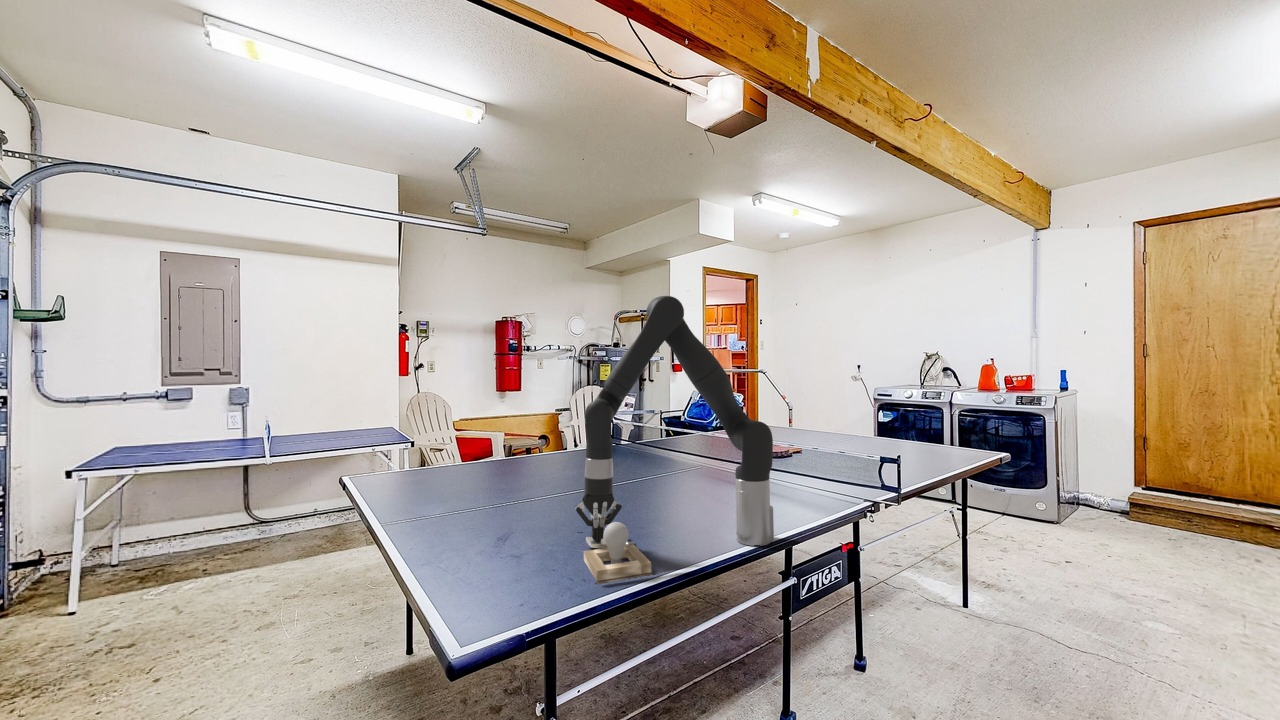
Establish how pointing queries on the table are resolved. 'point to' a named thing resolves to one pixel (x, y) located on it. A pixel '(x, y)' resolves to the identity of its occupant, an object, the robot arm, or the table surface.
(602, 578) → the socket
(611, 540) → the lightbulb
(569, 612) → the table surface
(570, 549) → the table surface
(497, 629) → the table surface
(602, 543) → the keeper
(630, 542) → the keeper bracket
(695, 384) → the robot arm
